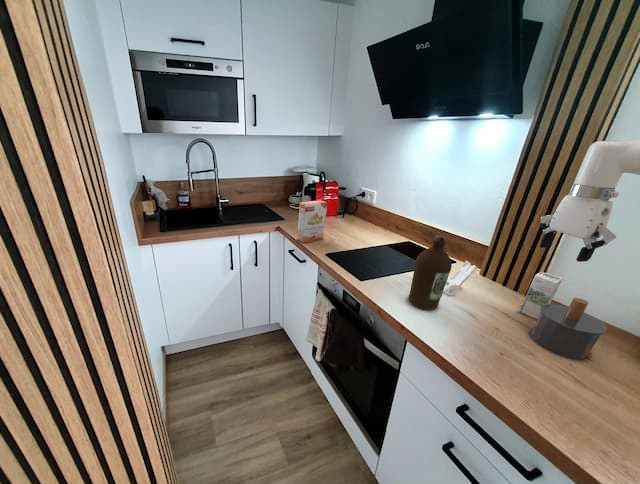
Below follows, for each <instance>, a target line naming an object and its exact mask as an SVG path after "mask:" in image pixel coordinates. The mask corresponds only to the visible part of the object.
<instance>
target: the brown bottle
mask: <svg viewBox="0 0 640 484" xmlns="http://www.w3.org/2000/svg"><path fill="white" fill-rule="evenodd" d="M446 240H447V236H444V235H442V234H435V235H434V239H433V241H432V244H431V246H430V247H428V248H427V249H424V250H423V251H421V252H420V253H419V254H418V256H417V257H416V259H415V263H414V269H413V273H412V280H411V286H410V290H409V295H408V302H409V303H410V305H412V306H413V307H415V308H417V309H420V310H423V311H434V310H437V308H438V307H439V303H440V301H441V298H442V296H443V294H444V291H443V290H444V287H445V284H446V281H447V279H449V277H450V274H451V271H452V259H451V257H450V256H449V255H448V253H447V251H446V250H445V246H446Z"/></svg>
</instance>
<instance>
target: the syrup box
mask: <svg viewBox="0 0 640 484" xmlns="http://www.w3.org/2000/svg"><path fill="white" fill-rule="evenodd" d="M562 281H563V277H560V276H557V275H553V274H550V273H547V272H543V271H539V272H538V273H536V274H535V275H534V277H533V279H532V280H531V284H530V286H529V288H528V291H527V293H526V295H525V298H524V300H523V302H522V304H521V307H520V309H519V313H520V314H522V315H525V316H527V317H529V318H532V319H535V321H537V319H538V317H539V315H540V312H541V311H540V308H541V307H542V306H543V305H546V304H552V302H553V299H554V297H555V295H556V294H557V291H558V290H559V288H560V285H561V284H562Z"/></svg>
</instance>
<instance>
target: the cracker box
mask: <svg viewBox="0 0 640 484" xmlns="http://www.w3.org/2000/svg"><path fill="white" fill-rule="evenodd" d="M327 208H328V202H327V201H324V200H311V201H301V202H299V209H298V223H297V226H298V227H297V241H299V242H300V243H302V244H303V243H309V242H315V241H320V240H324V235H325V226H326V216H327Z"/></svg>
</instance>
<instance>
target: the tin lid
mask: <svg viewBox="0 0 640 484" xmlns="http://www.w3.org/2000/svg"><path fill="white" fill-rule="evenodd" d="M589 303H590V302H589V301H587V300H585V299H583V298H580V297H573V298H572V301H571V302H570V304H569V306H566V305H561V304H555V303H554V304H553V303H550V304H546V305H543V306H542V307H541V308H540V311H541V313H542V314H543V315H544V316H545V317H546V318H547V319H549V320H550V321H552V322H554V323H556V324H558V325H560V326H562V327H564V328H567V329H570V330H573V331H576V332H580V333H584V334H589V335H600V336H601V335H604V334H606V332H607V331H608V329H607V326H606V325H605V324H604V323H603V322H602V321H601V320H600V319H598V318H597V317H595V316H593V315H591V314H589V313H586V312H585V311H586V310H587V307H588V305H589Z"/></svg>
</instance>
